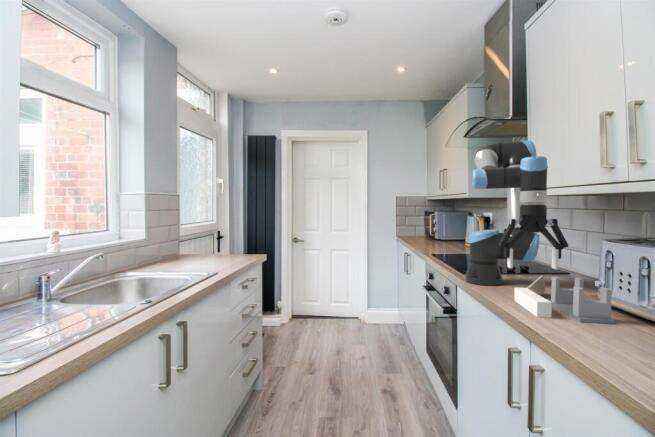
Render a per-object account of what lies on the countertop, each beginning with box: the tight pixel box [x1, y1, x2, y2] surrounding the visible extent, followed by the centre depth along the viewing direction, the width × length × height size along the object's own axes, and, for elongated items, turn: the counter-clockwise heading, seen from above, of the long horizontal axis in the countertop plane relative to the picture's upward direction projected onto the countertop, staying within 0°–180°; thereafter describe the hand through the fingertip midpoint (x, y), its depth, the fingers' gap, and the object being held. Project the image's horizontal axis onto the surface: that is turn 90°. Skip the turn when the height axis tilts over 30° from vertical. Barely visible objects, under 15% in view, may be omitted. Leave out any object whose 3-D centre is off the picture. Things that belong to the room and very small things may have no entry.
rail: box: [513, 287, 553, 319], centre depth 111 cm, size 18×4×5 cm, turn 171°
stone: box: [526, 275, 546, 297], centre depth 127 cm, size 10×7×10 cm
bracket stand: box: [547, 276, 616, 325], centre depth 107 cm, size 20×9×10 cm, turn 170°
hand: (532, 268), depth 111 cm, fingers open, 13 cm apart
